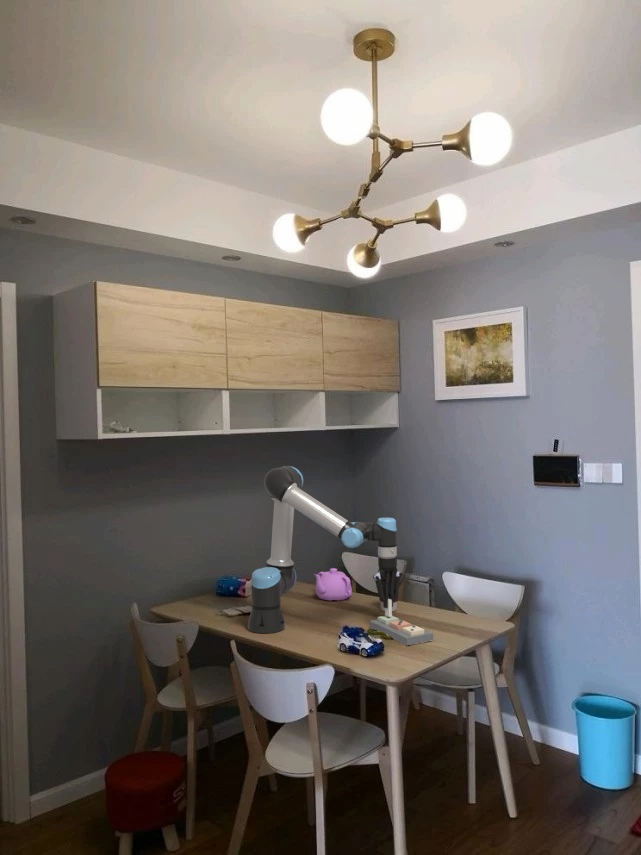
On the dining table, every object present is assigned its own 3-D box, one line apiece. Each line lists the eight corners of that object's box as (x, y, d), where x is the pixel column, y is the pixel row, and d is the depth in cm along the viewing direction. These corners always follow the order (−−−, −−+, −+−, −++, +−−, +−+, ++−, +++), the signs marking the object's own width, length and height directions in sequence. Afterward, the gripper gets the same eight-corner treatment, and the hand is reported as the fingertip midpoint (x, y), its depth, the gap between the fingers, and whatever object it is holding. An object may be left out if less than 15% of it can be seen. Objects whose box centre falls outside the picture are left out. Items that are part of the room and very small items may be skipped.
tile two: (411, 639, 255) (411, 631, 255) (402, 635, 260) (402, 627, 260) (424, 637, 257) (424, 628, 257) (414, 633, 263) (414, 624, 263)
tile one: (386, 628, 270) (386, 619, 270) (377, 624, 275) (377, 616, 275) (398, 626, 272) (398, 617, 272) (390, 622, 278) (390, 614, 278)
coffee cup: (404, 611, 300) (404, 576, 300) (385, 614, 295) (384, 579, 295) (392, 605, 309) (392, 572, 308) (373, 608, 304) (373, 574, 304)
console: (407, 646, 252) (406, 638, 252) (369, 628, 275) (369, 620, 275) (433, 641, 257) (433, 633, 257) (394, 623, 280) (394, 616, 280)
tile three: (398, 633, 262) (398, 625, 262) (389, 629, 267) (389, 621, 267) (411, 631, 265) (411, 623, 265) (402, 627, 270) (402, 619, 270)
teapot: (297, 599, 322) (297, 570, 322) (329, 590, 338) (329, 562, 338) (331, 607, 307) (331, 576, 307) (363, 598, 323) (362, 569, 322)
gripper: (378, 560, 267) (379, 620, 267) (406, 556, 273) (407, 615, 273) (368, 556, 274) (369, 615, 274) (395, 553, 280) (396, 611, 280)
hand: (388, 615), depth 274 cm, fingers closed
